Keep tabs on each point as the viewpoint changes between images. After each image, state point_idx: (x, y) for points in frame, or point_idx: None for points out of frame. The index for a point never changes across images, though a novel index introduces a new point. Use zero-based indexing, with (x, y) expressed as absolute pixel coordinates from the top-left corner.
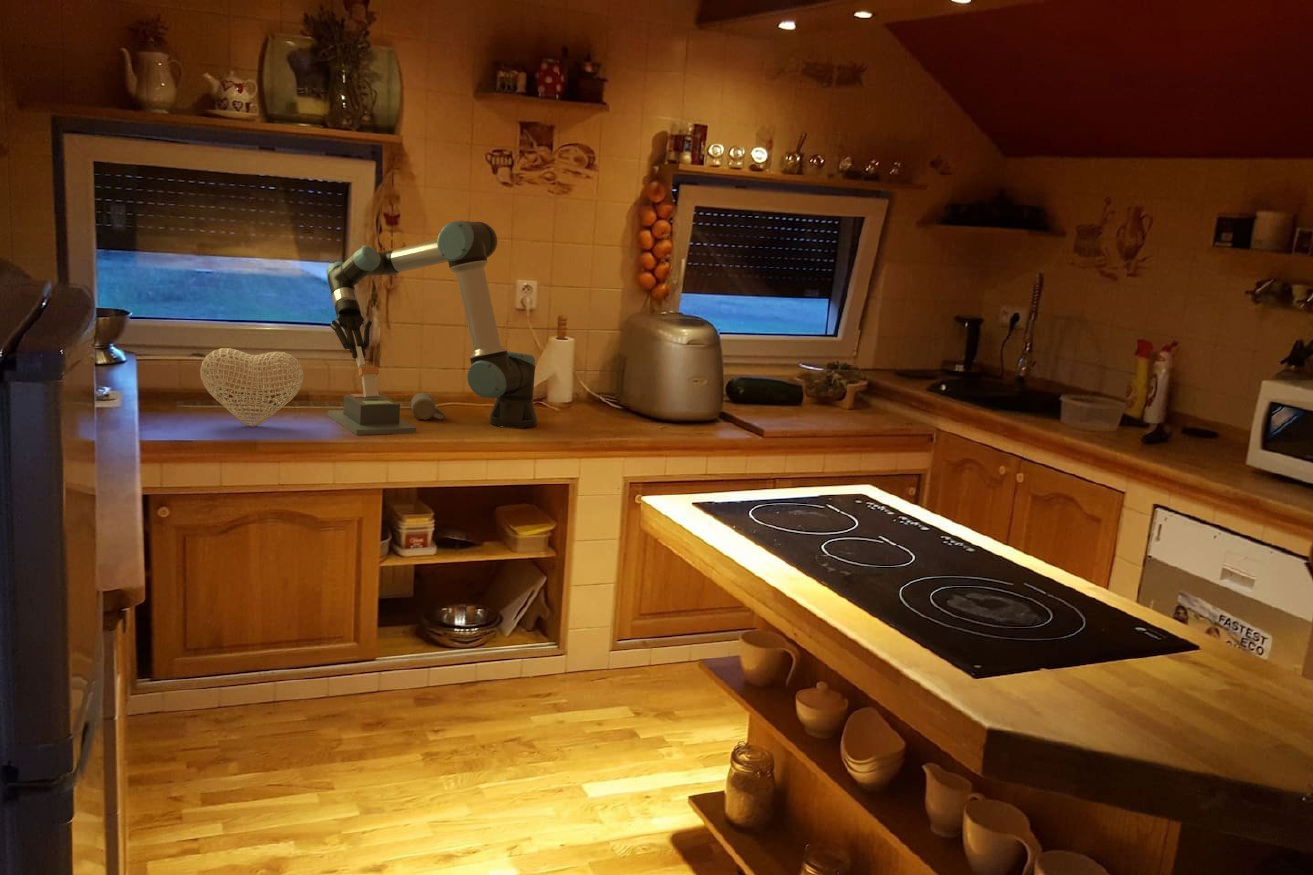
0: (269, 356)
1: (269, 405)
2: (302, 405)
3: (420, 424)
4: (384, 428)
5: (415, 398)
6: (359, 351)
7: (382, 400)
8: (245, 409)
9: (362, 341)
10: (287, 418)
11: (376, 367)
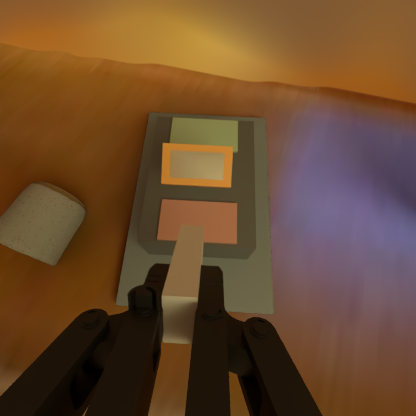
0: None
1: None
2: None
3: (103, 176)
4: (210, 117)
5: (48, 222)
6: (186, 268)
7: None
8: None
9: (121, 340)
10: (374, 297)
11: (170, 144)
